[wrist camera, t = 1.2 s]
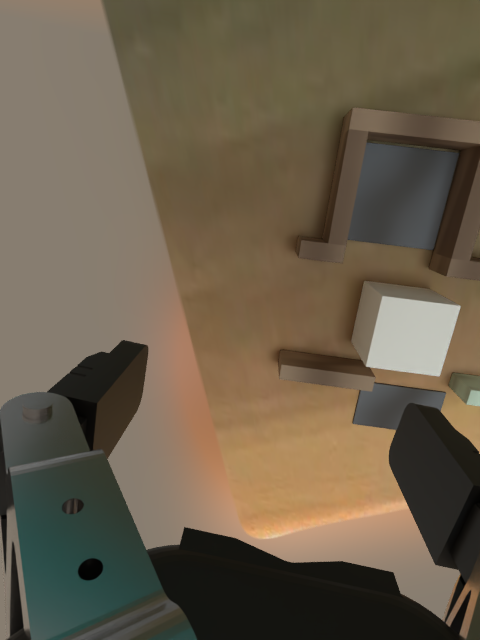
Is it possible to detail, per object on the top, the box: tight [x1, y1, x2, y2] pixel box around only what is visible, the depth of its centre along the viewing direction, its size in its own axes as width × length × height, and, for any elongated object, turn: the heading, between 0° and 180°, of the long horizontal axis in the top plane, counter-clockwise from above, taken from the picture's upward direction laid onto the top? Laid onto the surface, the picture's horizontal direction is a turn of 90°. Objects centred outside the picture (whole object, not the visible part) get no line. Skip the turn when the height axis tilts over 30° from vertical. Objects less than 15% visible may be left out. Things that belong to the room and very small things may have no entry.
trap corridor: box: [278, 107, 480, 430], centre depth 28 cm, size 25×23×3 cm
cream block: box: [351, 281, 461, 376], centre depth 28 cm, size 5×5×5 cm
